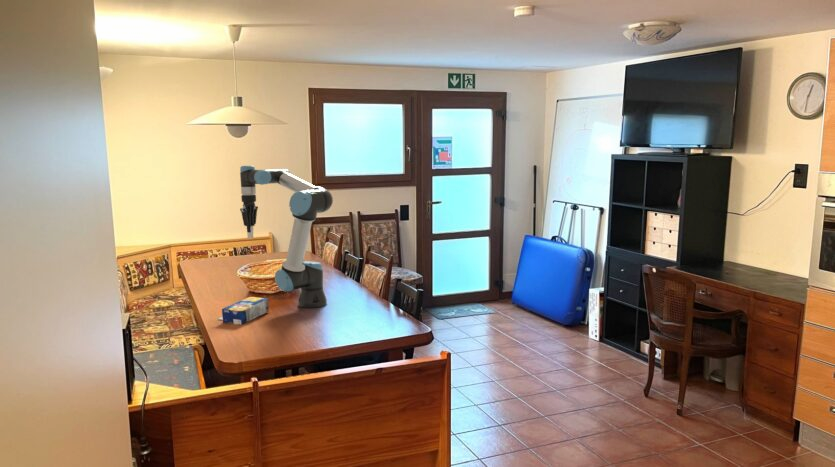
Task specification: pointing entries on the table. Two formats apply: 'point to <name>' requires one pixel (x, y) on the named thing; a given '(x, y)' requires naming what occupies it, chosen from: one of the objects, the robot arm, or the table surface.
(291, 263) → the robot arm
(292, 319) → the table surface
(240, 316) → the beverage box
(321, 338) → the table surface
